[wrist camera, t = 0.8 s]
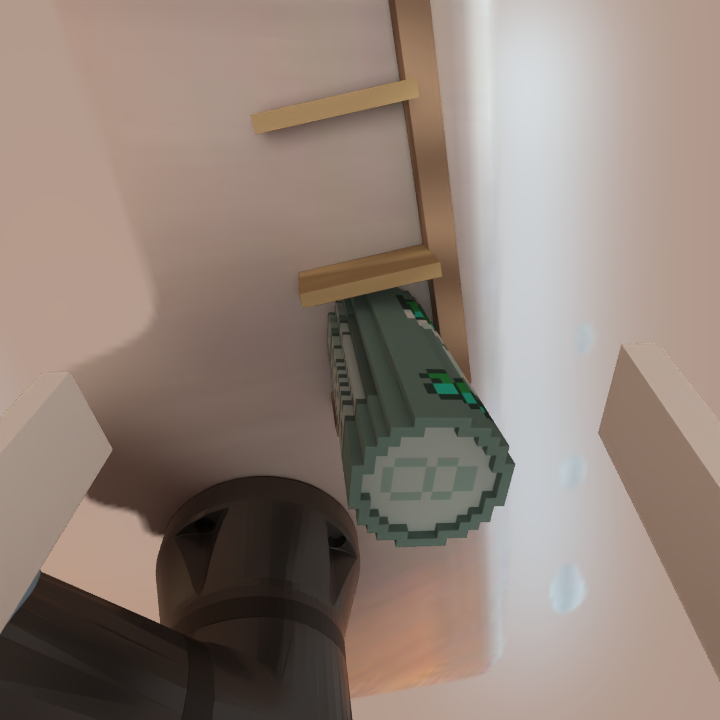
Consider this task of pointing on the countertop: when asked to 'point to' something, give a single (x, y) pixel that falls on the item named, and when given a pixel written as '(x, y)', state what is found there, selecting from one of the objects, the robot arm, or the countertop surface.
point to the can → (410, 425)
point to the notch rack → (430, 179)
